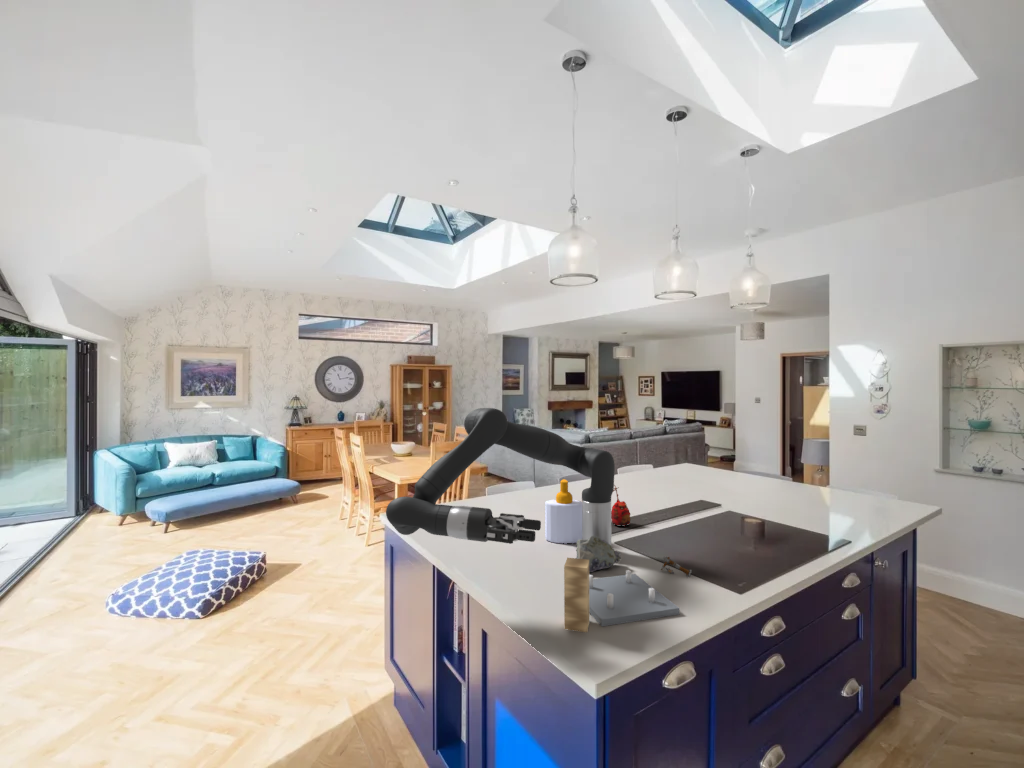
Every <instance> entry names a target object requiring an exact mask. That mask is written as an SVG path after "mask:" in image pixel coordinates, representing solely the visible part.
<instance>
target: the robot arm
mask: <svg viewBox="0 0 1024 768" xmlns="http://www.w3.org/2000/svg"><path fill="white" fill-rule="evenodd" d="M463 424H464V430H465V432H466V434H467V436H466V437H465V438H464V439H463V440H462V441H461V442H460V443H459V444H458V445H456V446H455V447H454V448H453V449H451V450H449V451H448V452H446V454H444V455H442V456H441V457H439V459H437V460H436V461H435V462H434V463H433V464H432V465H431V466H430V467H429V468H428V469H427V470H426V471H425V472H424V473H423V475H421V476H420V478H419V479H418V480H417V481H416V482H415V484H414V494H413V496H412V497H411V496H398V497H396V498H394V499H392V500H391V501H390V502H389V503H388V504H387V506H386V509H385V516H386V518H387V521H388V522H389V523H390V525H391V526H392V527H393V528H394V529H395V531H396V532H398V533H399V534H401V535H404V536H408V535H412V534H414V533H415V532H417V531H418V530H420V529H422V530H424V531H426V532H427V533H428V534H431V535H434V536H435V535H436V536H440V537H441V536H443V537H450V538H454V539H457V540H458V539H459V540H463V541H464V540H465V541H466V540H467V541H474V542H483V543H486V542H488V541H489V542H496V543H497V542H498V543H502V544H503V543H505V544H509V545H510V544H514V542H518V541H523V542H531V543H533V542H535V541H536V531H540V530H541V528H542V527H541V526H542V521H541V520H538V519H532V518H531V519H530V518H526V517H525V515H523V514H513V513H503V512H502V513H500V514H499V515H498V516H497V517H496V516H495V517H494V515H493V511H492V510H491V508H487V507H477V506H468V505H448V504H436V503H437V502H438V500H439V499H441V497H442V496H443V495H444V494H445V493H446V492H447V490H448V489H449V488H450V487H451V486H452V485H453V483H454V482H456V480H457V479H458V478H459V477H460V475H462V474H463V473H464V471H465V470H466V469H468V468H469V467H470V466H471V465H472V464H473V463H474V462H475V461H476V460H478V458H480V457H481V456H482V455H483V454H484V453H485V452H486V451H487V450H489V449H490V448H491V447H492V446H494V445H498V446H502V447H504V448H507V449H508V450H509V449H510V450H512V451H514V452H516V453H518V454H521V455H523V456H525V457H529V458H530V459H533V460H535V461H536V460H537V461H539V462H543V463H545V464H549V465H550V464H551V465H554V466H556V465H557V466H563V467H566V468H568V469H571V470H572V471H574V472H577V473H579V474H580V475H582V476H584V477H588V478H591V479H590V485H589V486H590V487H588V488H585V489H583V490H582V492H581V502H582V539H583V540H584V539H585V540H586V539H588V538H590V537H591V536H593V535H595V536H596V537H599V538H601V539H602V540H605V541H606V542H608V543H609V544H610V545H611V546H612V519H611V511H612V495H613V490H614V488H615V486H614V485H615V467H616V465H615V459H614V457H613V455H612V454H611V453H610V452H609V451H607V450H604V449H599V448H598V449H597V448H592V447H591V448H590V447H585V446H579V445H576V444H573V443H570V442H568V441H567V440H566V439H565V438H563V437H562V436H560V435H559V434H557V433H555V432H552V431H550V430H547V429H545V428H541V427H537V426H532V425H528V424H521V423H516V422H512V421H508V417H507V415H506V414H505V413H504V412H503V411H502V410H500V409H498V408H493V407H480V408H476V409H473V410H472V411H470V412H468V414H466V416H465V419H464V422H463Z"/></svg>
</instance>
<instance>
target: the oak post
mask: <svg viewBox="0 0 1024 768" xmlns="http://www.w3.org/2000/svg"><path fill="white" fill-rule="evenodd" d="M563 569H564V570H563V571H564V574H563V580H564V581H563V582H564V584H563V585H564V589H563V593H564V596H563V598H564V599H563V600H564V605H563V608H564V613H563V615H564V616H563V617H564V622H563V623H564V627H563V628H564V630H565V629H568V630H567V631H572V630H574V632H582V633H588V631H589V626H590V613H589V575H590V572H589V560H588V559H577V558H576V557H567V558H566V561H565V563H564V565H563Z"/></svg>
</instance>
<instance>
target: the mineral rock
mask: <svg viewBox="0 0 1024 768" xmlns="http://www.w3.org/2000/svg"><path fill="white" fill-rule="evenodd" d="M575 551H576V557H575V558H577V559H588V560H589V573H593V572H596V571H601V570H604V569H609V568H610V567H612V566H613V565H614V564H616V563H617V562H619V561H620V560H621V559H622V558H621V551H618V550H615V549H614V548H613V547H612V544H611V545H610V544H609V543H608V542H606V541H605V540H602V539H601V538H599V537H596V536H595V535H593V536H591V537H590V538H588V539H586V540H585V539H584V540H583V539H580V540H578V541H577V543H576V550H575Z"/></svg>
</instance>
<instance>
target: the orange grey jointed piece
mask: <svg viewBox="0 0 1024 768" xmlns="http://www.w3.org/2000/svg"><path fill="white" fill-rule="evenodd" d="M662 559H663V560H664V563H663V564H662V566H661V569H660V571H662V572H663V571H664V570H666V572H667V573H669V574H674V573H675V572H674V571H673V569H671V568H670V567H668V568H667V566H669V565H672V567H674V568H676V570H680V571H681V572H682V573H684V574H685V575H687V576H686V577H687V578H690V575H691V574H692V569H687V568H685V567H682V566H681V565H680V564H678V563H677V562H676V561H673V560H671V557H670V556H663V558H662Z"/></svg>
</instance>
